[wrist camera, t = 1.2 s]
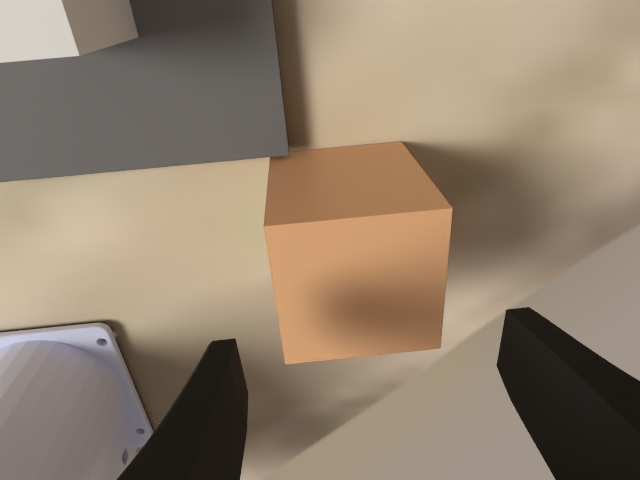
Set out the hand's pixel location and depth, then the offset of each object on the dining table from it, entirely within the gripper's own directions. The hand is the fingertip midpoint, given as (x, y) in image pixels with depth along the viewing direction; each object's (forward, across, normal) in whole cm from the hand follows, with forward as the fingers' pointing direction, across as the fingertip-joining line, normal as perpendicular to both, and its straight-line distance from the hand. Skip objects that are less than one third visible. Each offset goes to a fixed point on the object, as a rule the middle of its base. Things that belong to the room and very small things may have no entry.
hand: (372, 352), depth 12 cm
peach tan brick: (+9, 0, 0) cm, 9 cm away
